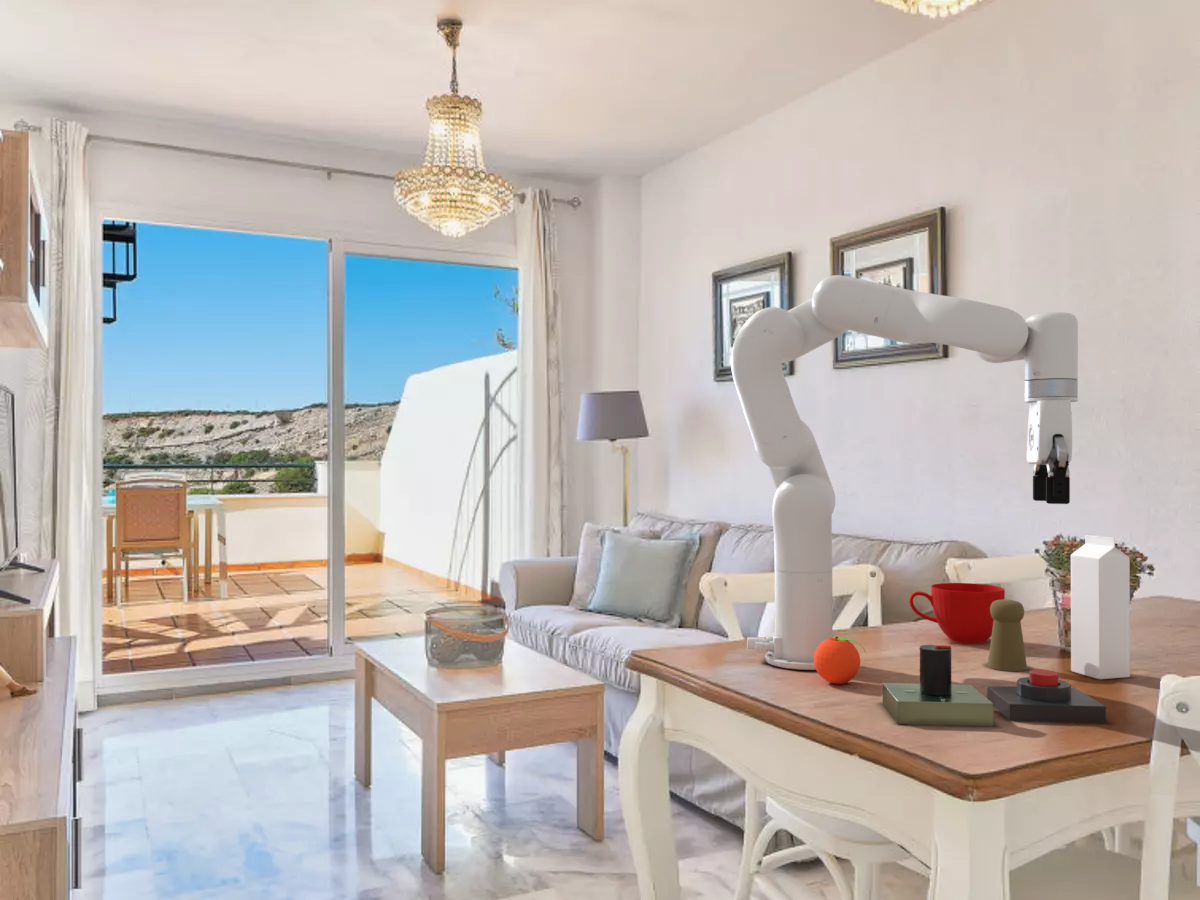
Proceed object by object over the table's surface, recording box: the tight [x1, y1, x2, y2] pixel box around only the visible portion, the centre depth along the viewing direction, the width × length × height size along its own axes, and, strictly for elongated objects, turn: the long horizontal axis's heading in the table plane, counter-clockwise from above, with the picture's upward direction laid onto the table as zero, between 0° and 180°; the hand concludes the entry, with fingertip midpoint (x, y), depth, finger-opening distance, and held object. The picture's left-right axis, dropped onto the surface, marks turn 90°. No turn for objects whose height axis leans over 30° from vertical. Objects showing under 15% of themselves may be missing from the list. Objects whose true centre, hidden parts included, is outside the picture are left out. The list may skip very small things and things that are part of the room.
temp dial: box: [919, 644, 952, 696], centre depth 128 cm, size 4×4×6 cm
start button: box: [1028, 669, 1059, 686], centre depth 130 cm, size 4×4×2 cm
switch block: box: [986, 676, 1107, 724], centre depth 129 cm, size 12×10×4 cm
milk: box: [1070, 534, 1131, 680], centre depth 152 cm, size 6×6×22 cm
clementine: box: [814, 636, 867, 685], centre depth 146 cm, size 8×7×7 cm
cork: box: [987, 598, 1028, 672], centre depth 157 cm, size 6×6×11 cm
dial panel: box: [882, 682, 994, 727], centre depth 128 cm, size 12×10×3 cm
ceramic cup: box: [908, 582, 1006, 645], centre depth 180 cm, size 13×17×10 cm
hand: (1050, 502), depth 149 cm, fingers open, 9 cm apart
